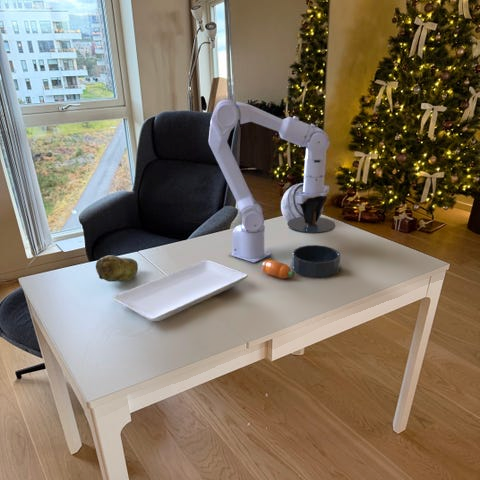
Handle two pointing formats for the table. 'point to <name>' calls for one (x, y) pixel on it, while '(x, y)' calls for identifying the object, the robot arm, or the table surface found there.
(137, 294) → the tray
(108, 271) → the potato
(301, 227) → the lid
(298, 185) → the decorative orb
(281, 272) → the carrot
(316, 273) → the pan
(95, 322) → the table surface
